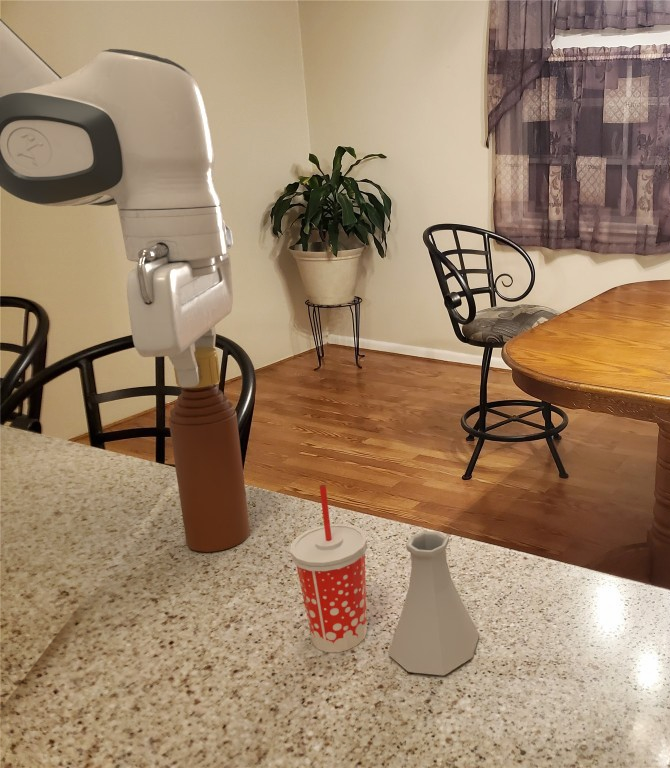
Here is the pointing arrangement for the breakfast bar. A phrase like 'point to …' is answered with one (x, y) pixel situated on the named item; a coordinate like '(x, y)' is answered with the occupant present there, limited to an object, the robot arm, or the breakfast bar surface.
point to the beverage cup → (333, 582)
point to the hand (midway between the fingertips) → (199, 377)
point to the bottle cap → (205, 367)
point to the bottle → (209, 469)
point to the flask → (432, 613)
